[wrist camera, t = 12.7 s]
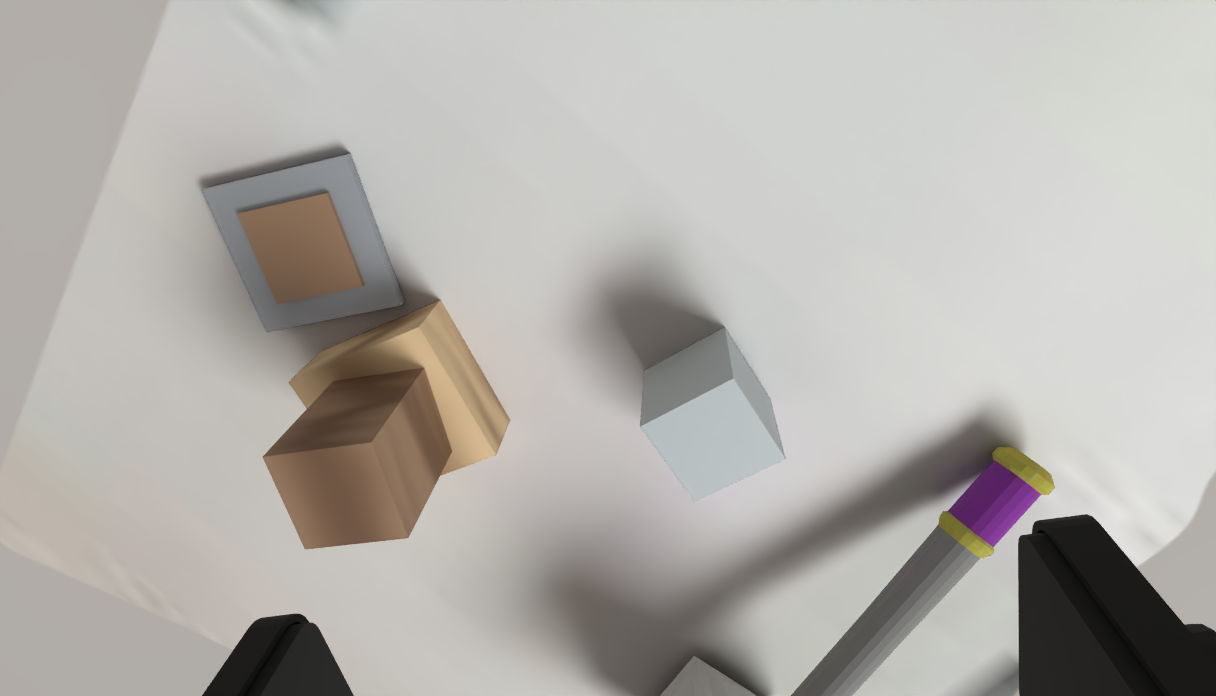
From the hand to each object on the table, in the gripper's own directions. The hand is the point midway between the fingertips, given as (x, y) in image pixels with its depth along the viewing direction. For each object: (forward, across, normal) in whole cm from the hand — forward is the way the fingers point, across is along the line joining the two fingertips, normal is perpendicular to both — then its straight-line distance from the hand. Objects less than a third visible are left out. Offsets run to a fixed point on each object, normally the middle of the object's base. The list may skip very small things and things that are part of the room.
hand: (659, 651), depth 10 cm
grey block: (+28, 0, +11) cm, 30 cm away
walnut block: (+25, +16, +8) cm, 30 cm away
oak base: (+29, +16, +8) cm, 34 cm away
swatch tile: (+28, +19, -1) cm, 34 cm away
